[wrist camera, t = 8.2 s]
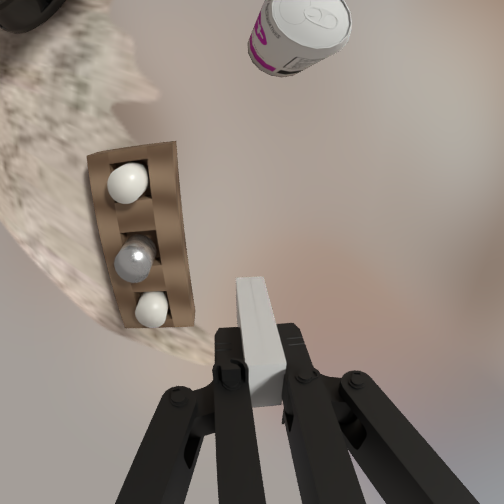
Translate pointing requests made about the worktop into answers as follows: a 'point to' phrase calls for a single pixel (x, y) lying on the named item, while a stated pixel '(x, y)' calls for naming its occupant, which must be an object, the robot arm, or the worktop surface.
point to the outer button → (152, 308)
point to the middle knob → (135, 258)
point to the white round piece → (128, 182)
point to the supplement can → (298, 34)
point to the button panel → (145, 230)
